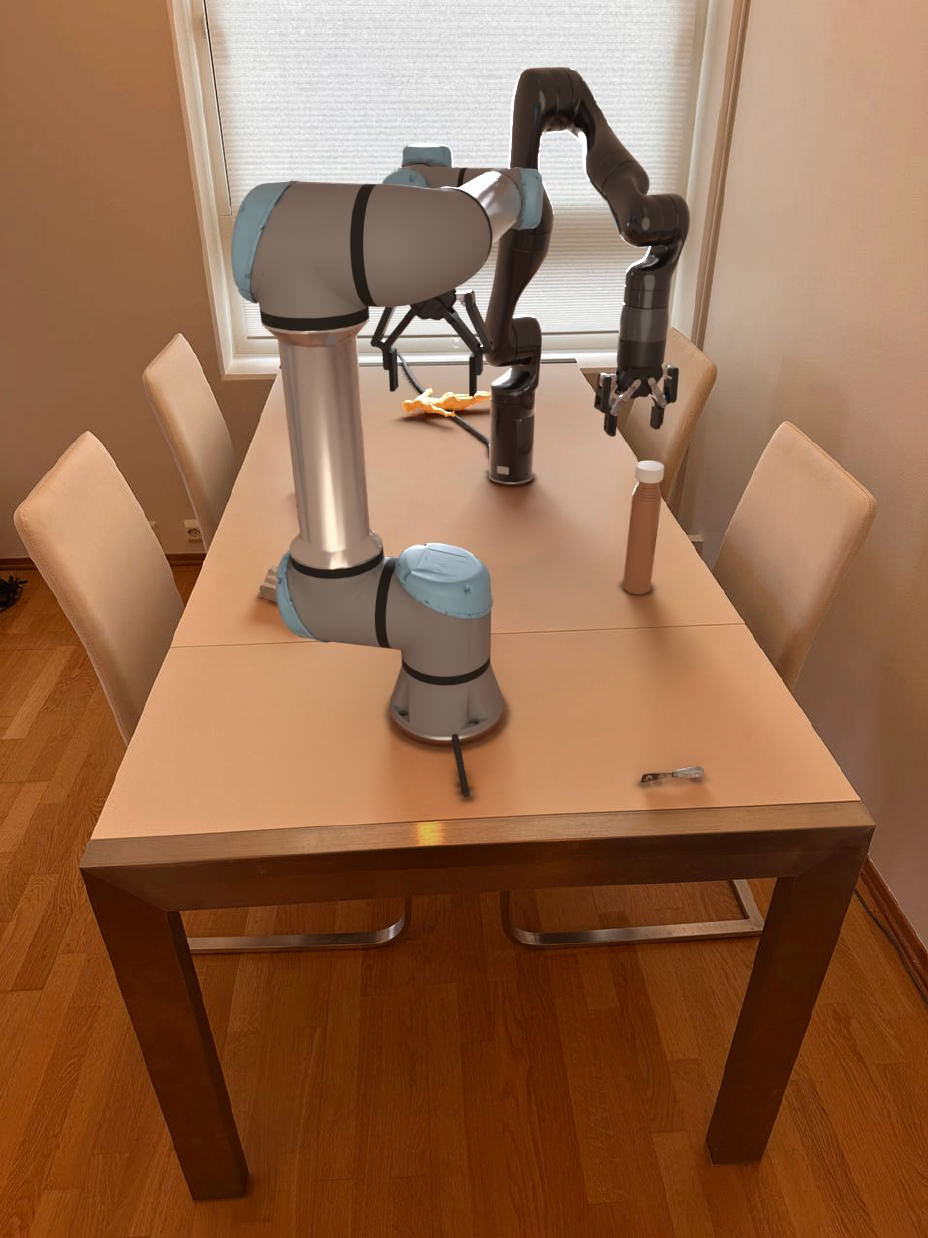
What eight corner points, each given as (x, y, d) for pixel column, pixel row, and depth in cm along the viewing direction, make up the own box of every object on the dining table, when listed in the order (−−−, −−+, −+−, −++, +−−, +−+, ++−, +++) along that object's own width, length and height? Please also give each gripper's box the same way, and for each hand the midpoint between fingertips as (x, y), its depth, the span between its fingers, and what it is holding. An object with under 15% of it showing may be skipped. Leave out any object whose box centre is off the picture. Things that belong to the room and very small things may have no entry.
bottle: (633, 577, 152) (646, 460, 141) (655, 587, 150) (670, 467, 138) (617, 587, 150) (629, 468, 138) (639, 597, 147) (653, 476, 135)
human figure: (395, 413, 223) (394, 398, 221) (438, 390, 237) (438, 375, 235) (462, 429, 215) (462, 413, 213) (502, 404, 229) (503, 388, 227)
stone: (348, 583, 151) (347, 570, 149) (311, 618, 141) (310, 604, 140) (283, 570, 155) (281, 557, 154) (243, 602, 146) (241, 589, 144)
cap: (645, 470, 142) (646, 458, 141) (668, 477, 139) (670, 465, 138) (629, 478, 139) (630, 465, 138) (652, 485, 136) (654, 473, 135)
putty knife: (703, 777, 109) (705, 767, 109) (642, 788, 108) (644, 777, 107) (700, 772, 110) (702, 762, 109) (639, 782, 109) (640, 771, 108)
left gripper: (513, 255, 139) (510, 389, 150) (360, 249, 144) (368, 380, 155) (505, 264, 133) (502, 403, 144) (345, 258, 137) (355, 393, 149)
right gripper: (668, 323, 146) (657, 418, 155) (591, 331, 142) (584, 429, 150) (694, 334, 140) (681, 433, 149) (615, 343, 136) (606, 445, 144)
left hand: (433, 391), depth 149 cm, fingers open, 13 cm apart
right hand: (632, 431), depth 149 cm, fingers open, 8 cm apart
